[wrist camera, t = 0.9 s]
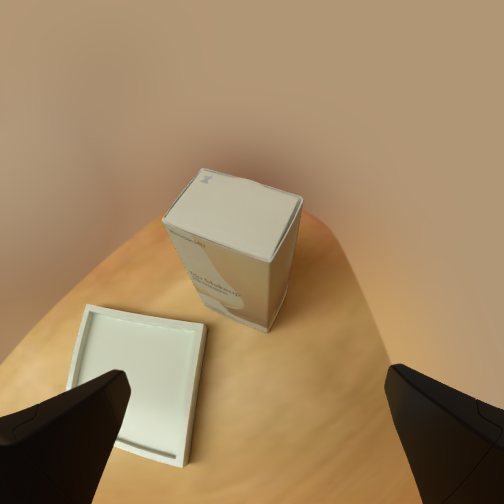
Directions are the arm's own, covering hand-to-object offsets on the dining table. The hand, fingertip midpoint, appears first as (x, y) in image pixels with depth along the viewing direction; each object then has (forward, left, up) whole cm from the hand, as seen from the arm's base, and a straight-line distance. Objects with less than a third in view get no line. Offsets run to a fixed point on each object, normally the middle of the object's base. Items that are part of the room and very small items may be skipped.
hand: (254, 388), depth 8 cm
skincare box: (+8, +2, -14) cm, 16 cm away
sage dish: (-1, +11, -13) cm, 17 cm away
